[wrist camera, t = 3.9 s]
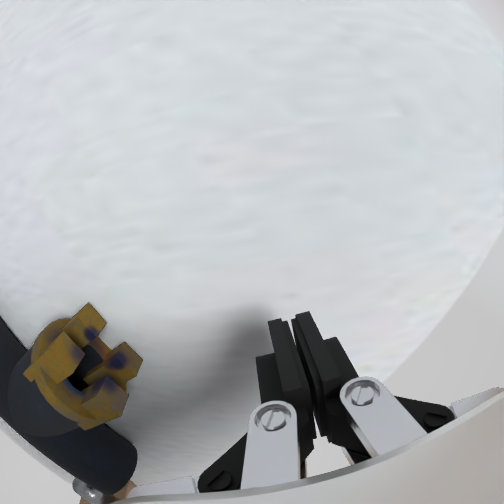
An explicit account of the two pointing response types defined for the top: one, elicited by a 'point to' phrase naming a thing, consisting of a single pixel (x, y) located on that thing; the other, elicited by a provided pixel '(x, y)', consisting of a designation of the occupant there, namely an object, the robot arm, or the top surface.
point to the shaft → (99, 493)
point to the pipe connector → (71, 398)
